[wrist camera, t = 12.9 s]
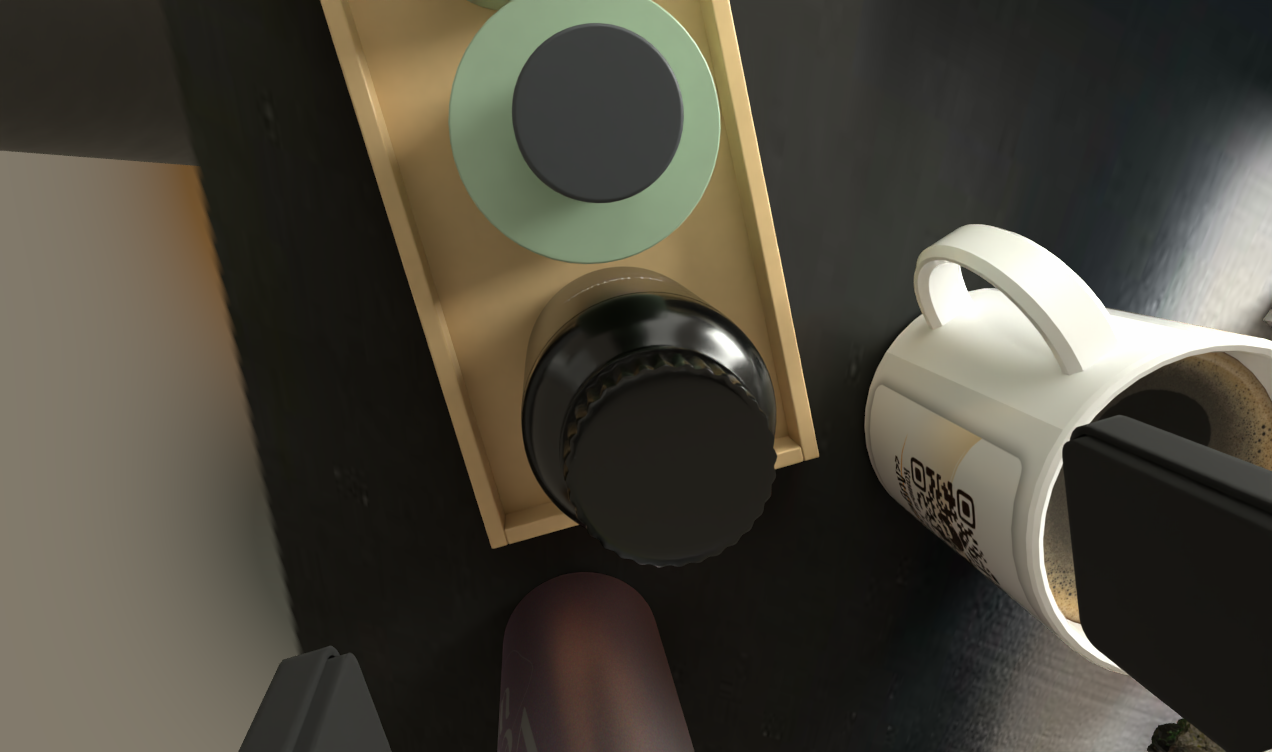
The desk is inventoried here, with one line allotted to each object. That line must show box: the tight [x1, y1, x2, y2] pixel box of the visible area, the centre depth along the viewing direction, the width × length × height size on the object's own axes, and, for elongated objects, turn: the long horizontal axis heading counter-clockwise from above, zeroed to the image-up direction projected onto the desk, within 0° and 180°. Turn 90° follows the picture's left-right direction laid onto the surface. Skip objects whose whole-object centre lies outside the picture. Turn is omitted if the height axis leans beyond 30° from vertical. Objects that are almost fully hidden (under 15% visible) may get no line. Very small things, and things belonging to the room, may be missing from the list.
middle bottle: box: [448, 0, 720, 264], centre depth 21 cm, size 6×6×13 cm
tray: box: [320, 0, 819, 549], centre depth 27 cm, size 12×25×2 cm, turn 14°
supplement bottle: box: [521, 266, 777, 568], centre depth 24 cm, size 7×7×12 cm
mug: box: [864, 224, 1272, 676], centre depth 27 cm, size 10×12×11 cm
